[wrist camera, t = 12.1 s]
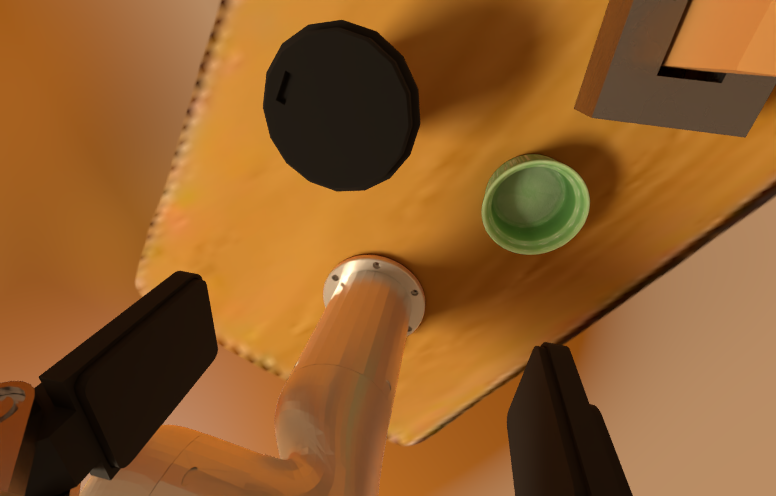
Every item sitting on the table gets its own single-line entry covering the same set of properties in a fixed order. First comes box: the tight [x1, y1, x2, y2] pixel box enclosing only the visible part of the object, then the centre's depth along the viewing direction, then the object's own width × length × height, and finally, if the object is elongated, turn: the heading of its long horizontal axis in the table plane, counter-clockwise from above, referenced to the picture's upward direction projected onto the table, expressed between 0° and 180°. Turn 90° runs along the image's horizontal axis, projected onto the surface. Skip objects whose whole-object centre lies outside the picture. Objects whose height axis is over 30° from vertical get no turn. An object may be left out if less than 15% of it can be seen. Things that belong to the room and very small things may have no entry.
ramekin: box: [482, 154, 590, 255], centre depth 34 cm, size 9×9×4 cm
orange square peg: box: [660, 0, 776, 77], centre depth 23 cm, size 3×4×12 cm
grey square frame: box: [574, 0, 776, 137], centre depth 26 cm, size 12×11×5 cm
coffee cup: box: [263, 20, 420, 191], centre depth 29 cm, size 11×11×12 cm
